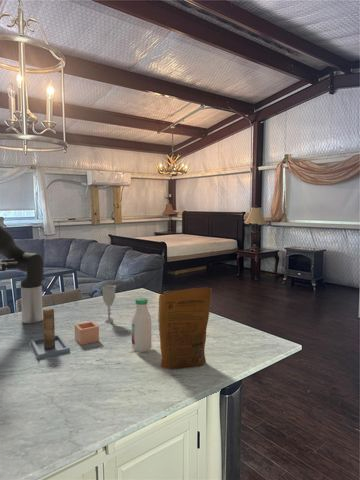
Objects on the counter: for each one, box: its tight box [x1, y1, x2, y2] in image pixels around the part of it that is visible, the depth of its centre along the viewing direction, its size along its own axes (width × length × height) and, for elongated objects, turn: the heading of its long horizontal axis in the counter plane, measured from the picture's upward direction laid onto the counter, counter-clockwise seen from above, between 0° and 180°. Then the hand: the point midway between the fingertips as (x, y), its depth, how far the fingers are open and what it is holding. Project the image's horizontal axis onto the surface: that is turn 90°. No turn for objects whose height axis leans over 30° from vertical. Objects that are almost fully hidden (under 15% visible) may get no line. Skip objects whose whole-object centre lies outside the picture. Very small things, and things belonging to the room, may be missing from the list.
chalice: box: [101, 284, 117, 324], centre depth 156 cm, size 7×7×18 cm
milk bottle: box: [131, 297, 152, 353], centre depth 128 cm, size 8×8×20 cm
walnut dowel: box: [42, 307, 56, 350], centre depth 126 cm, size 4×4×15 cm
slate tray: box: [30, 334, 71, 362], centre depth 127 cm, size 16×11×2 cm
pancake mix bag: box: [157, 287, 213, 370], centre depth 114 cm, size 7×19×28 cm, turn 102°
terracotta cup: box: [74, 320, 100, 346], centre depth 135 cm, size 8×8×7 cm
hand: (17, 263), depth 123 cm, fingers open, 8 cm apart
